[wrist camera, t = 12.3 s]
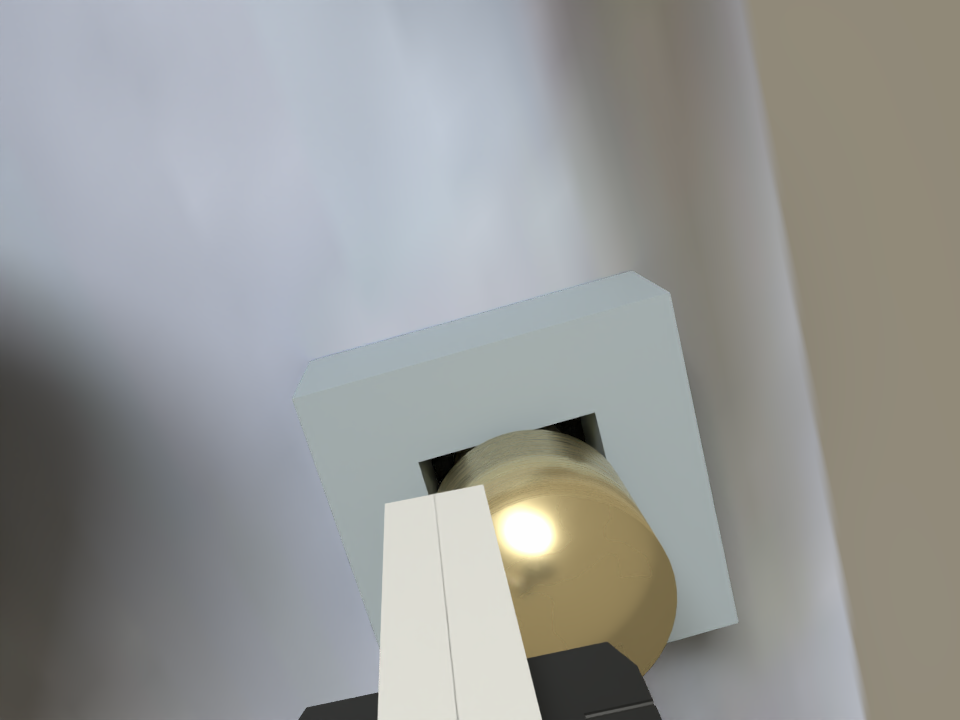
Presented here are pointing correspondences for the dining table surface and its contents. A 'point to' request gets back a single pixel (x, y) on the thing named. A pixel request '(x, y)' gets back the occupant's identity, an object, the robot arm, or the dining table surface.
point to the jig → (523, 421)
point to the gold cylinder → (571, 545)
